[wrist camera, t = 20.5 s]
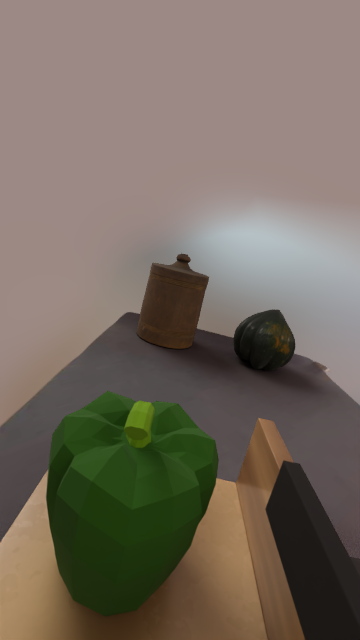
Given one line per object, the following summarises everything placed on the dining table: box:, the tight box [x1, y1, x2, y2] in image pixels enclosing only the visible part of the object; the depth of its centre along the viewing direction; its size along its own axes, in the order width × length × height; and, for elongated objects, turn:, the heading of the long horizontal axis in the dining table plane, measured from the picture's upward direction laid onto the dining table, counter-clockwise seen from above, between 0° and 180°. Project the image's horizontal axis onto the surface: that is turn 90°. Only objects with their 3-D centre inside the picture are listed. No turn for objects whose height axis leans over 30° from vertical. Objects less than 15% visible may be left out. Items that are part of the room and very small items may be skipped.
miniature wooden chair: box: [0, 418, 305, 640], centre depth 16 cm, size 15×14×12 cm
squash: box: [234, 310, 295, 370], centre depth 71 cm, size 14×15×15 cm
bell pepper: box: [46, 391, 218, 616], centre depth 15 cm, size 8×8×10 cm
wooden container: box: [137, 254, 209, 349], centre depth 72 cm, size 15×15×22 cm
